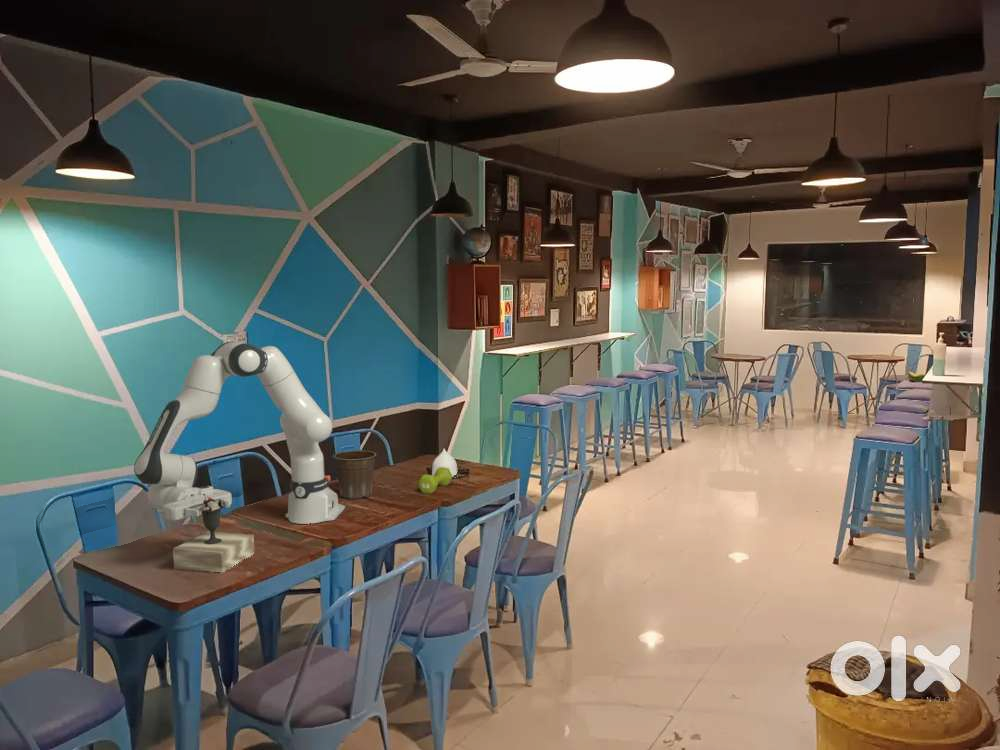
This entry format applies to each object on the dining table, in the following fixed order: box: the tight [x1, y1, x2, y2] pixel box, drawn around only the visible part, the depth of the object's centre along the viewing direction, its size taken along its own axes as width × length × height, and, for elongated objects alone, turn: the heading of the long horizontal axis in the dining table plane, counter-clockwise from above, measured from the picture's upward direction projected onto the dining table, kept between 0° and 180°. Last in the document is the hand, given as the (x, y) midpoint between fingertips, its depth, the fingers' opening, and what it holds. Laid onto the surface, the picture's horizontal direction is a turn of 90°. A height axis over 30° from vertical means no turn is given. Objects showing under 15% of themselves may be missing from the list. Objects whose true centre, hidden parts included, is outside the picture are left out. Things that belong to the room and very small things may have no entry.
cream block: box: [172, 530, 255, 574], centre depth 222 cm, size 16×16×6 cm
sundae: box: [200, 493, 224, 544], centre depth 221 cm, size 7×7×15 cm
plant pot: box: [333, 450, 377, 500], centre depth 291 cm, size 16×16×16 cm
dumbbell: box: [418, 467, 453, 495], centre depth 299 cm, size 16×8×7 cm, turn 156°
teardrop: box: [431, 448, 458, 477], centre depth 320 cm, size 11×11×12 cm
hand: (213, 509), depth 220 cm, fingers open, 8 cm apart
